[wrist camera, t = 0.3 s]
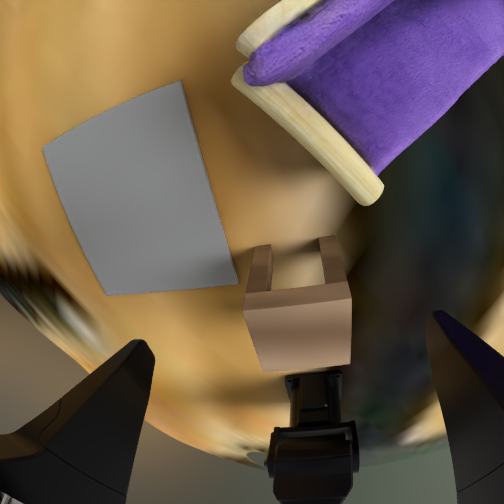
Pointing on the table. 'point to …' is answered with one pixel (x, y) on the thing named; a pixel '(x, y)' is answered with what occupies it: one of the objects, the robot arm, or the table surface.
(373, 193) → the toy sofa
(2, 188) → the table surface
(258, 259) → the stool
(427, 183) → the table surface
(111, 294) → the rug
